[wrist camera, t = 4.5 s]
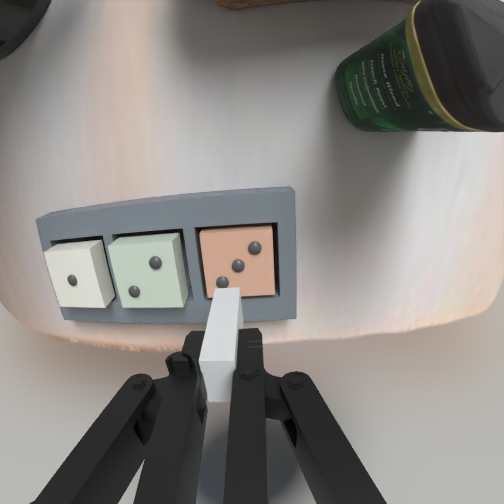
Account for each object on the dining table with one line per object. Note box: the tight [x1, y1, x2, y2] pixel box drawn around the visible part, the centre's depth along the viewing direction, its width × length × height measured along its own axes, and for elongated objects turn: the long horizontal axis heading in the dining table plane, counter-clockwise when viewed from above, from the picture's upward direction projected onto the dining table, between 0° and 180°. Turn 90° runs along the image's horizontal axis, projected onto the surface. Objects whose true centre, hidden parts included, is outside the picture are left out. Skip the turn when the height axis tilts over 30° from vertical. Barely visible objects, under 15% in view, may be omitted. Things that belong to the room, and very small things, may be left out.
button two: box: [108, 233, 189, 308], centre depth 25 cm, size 6×6×3 cm
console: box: [36, 187, 296, 323], centre depth 27 cm, size 26×12×3 cm, turn 94°
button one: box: [44, 240, 115, 308], centre depth 25 cm, size 6×6×3 cm
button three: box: [200, 222, 275, 298], centre depth 26 cm, size 6×6×3 cm
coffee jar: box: [336, 0, 504, 132], centre depth 14 cm, size 10×8×19 cm
